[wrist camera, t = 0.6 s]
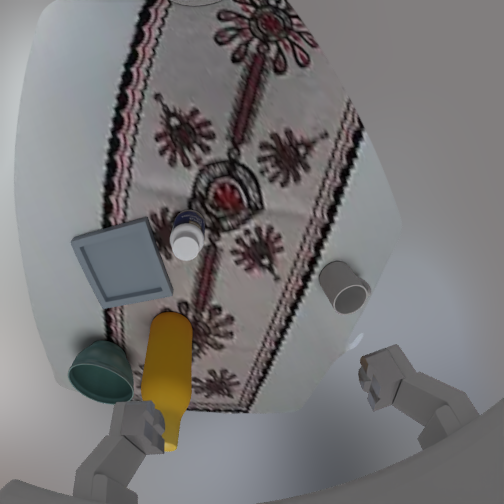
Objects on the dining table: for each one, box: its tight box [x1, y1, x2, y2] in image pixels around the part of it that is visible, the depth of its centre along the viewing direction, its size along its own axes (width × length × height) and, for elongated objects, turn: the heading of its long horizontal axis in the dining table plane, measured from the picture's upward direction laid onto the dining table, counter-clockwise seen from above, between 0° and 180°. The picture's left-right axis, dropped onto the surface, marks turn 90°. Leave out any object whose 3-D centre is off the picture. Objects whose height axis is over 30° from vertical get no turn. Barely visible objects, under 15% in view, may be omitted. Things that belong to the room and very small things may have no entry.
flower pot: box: [68, 341, 134, 405], centre depth 58 cm, size 16×16×11 cm
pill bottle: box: [170, 210, 205, 261], centre depth 46 cm, size 5×5×10 cm
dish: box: [70, 217, 173, 309], centre depth 51 cm, size 16×16×2 cm
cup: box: [319, 262, 371, 315], centre depth 57 cm, size 7×10×9 cm
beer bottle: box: [141, 312, 192, 451], centre depth 48 cm, size 9×9×29 cm
